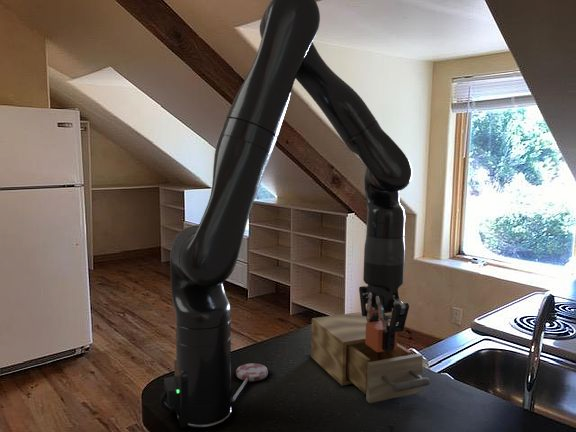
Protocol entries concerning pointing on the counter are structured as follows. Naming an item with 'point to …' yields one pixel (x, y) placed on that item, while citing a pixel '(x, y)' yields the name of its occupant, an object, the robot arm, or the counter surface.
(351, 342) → the cabinet
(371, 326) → the block
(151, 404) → the counter surface
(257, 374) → the lollipop
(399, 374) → the drawer
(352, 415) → the counter surface
